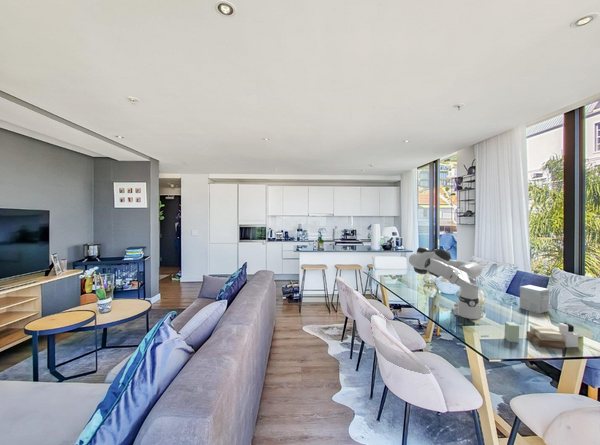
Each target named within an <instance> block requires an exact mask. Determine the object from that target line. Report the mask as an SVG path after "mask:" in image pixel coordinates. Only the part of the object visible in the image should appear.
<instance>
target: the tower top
mask: <svg viewBox="0 0 600 445" xmlns="http://www.w3.org/2000/svg"><path fill="white" fill-rule="evenodd" d="M555 330H556V329H554V328H552V327H550V326H540V325H530V326H529V331H530V332H531V333H532V334H534V335H535V336H537V337H538V338H539V339H541V340H550V341H562V334H560V333H559V332H557V331H555Z"/></svg>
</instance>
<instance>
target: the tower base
mask: <svg viewBox="0 0 600 445" xmlns="http://www.w3.org/2000/svg"><path fill="white" fill-rule="evenodd" d="M526 338H527V339H528V340H529V341H531V342H532V343H533V344H535V345H536V346H538V347H539V348H545V349H556V350H565V348H566V347H565V342H563V341H550V340H541V339H539V338H538V337H537V336H535V335H534V334H532V333H531V332H530V330H526Z"/></svg>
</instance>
